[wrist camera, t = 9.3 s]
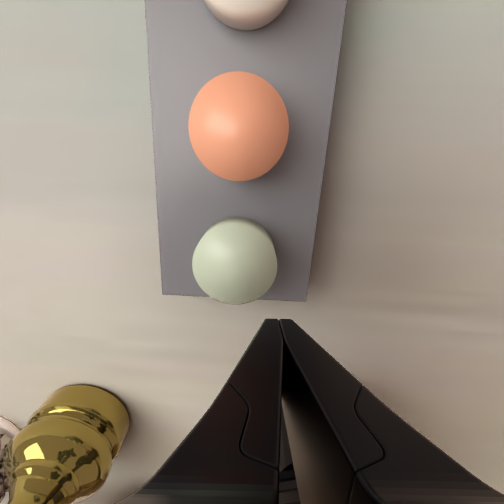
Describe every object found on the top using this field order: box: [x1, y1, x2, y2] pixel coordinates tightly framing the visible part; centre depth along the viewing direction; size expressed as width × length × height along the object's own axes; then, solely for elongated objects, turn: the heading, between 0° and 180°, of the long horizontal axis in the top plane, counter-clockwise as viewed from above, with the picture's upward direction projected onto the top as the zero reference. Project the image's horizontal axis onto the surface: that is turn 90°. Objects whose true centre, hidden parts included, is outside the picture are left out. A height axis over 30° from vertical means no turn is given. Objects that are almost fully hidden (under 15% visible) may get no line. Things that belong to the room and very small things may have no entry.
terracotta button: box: [188, 71, 289, 181], centre depth 13 cm, size 4×4×2 cm
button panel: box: [145, 0, 347, 302], centre depth 15 cm, size 19×9×2 cm, turn 177°
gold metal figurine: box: [3, 385, 129, 504], centre depth 19 cm, size 7×7×10 cm
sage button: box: [192, 217, 277, 304], centre depth 15 cm, size 4×4×2 cm
